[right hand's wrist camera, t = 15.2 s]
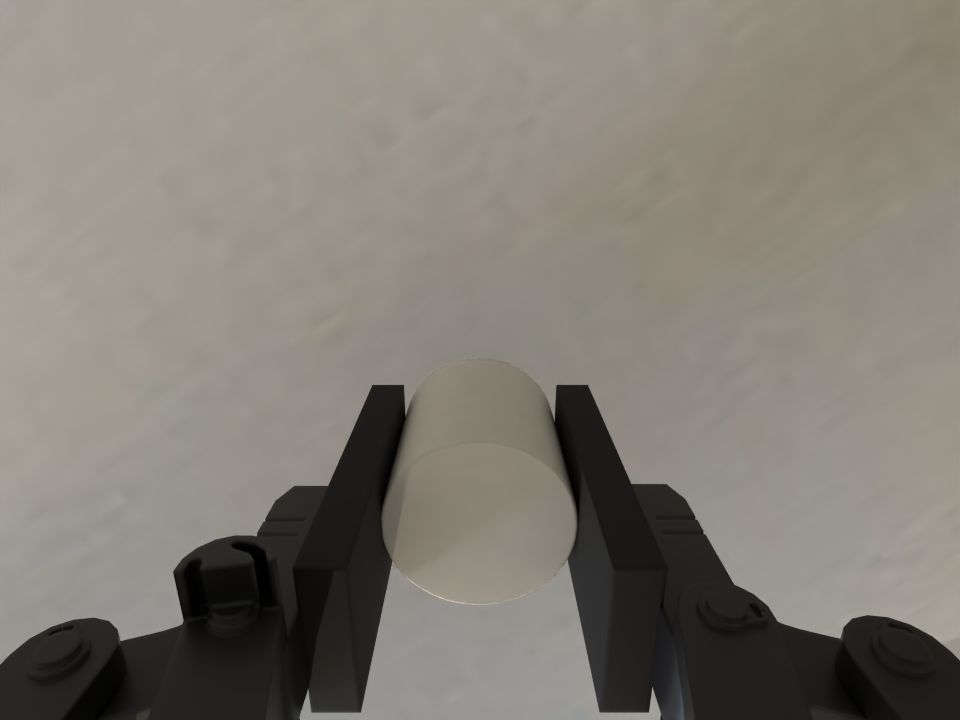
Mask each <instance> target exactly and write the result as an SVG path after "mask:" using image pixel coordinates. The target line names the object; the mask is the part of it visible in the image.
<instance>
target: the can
mask: <svg viewBox="0 0 960 720" xmlns="http://www.w3.org/2000/svg"><path fill="white" fill-rule="evenodd" d="M381 522H382V535H383V541H384V544H385V547H386V549H387V551H388V553H389V556H390V558H391V559H392V561H393V562H394V564H395V565H396V567H397V568H398V569H399V570H400V571H401V573H402V574H403V575H404V576H405V577H406V578H407V579H409V580H410V581H411V582H412V583H413V584H415V585H416V586H418V587H419V588H421V589H422V590H424V591H426V592H428V593H430V594H431V595H434V596H436V597H439V598H441V599H444V600H448V601H451V602H455V603H461V604H469V605H489V604H497V603H503V602H507V601H511V600H515V599H517V598H520V597H522V596H525V595H527V594H529V593H531V592H533V591H535V590H537V589H538V588H539V587H541V586H542V585H544V584H545V583H547V582H548V581H549V580H550V579H551V578H552V577H553V576H555V574H556V573H557V572H558V571H559V570H560V569H561V568H562V566H563V565H564V563H565V562H566V560H567V559H568V557H569V555H570V553H571V550H572V548H573V546H574V542H575V539H576V535H577V529H578V513H577V507H576V502H575V498H574V495H573V491H572V487H571V483H570V479H569V476H568V472H567V468H566V464H565V460H564V457H563V453H562V449H561V445H560V441H559V438H558V434H557V430H556V426H555V422H554V419H553V415H552V411H551V408H550V405H549V402H548V400H547V398H546V396H545V394H544V392H543V391H542V389H541V388H540V386H539V385H538V384H537V383H536V382H535V381H534V380H533V379H532V378H531V377H530V376H529V375H527V374H526V373H525V372H523V371H521V370H520V369H518V368H516V367H514V366H512V365H510V364H507V363H504V362H501V361H497V360H492V359H480V358H478V359H467V360H462V361H458V362H454V363H451V364H449V365H447V366H444V367H442V368H440V369H439V370H437V371H436V372H434V373H433V374H431V375H430V376H429V377H428V378H427V379H425V381H424V382H423V383H422V384H421V385H420V386H419V387H418V389H417V390H416V392H415V393H414V395H413V397H412V399H411V401H410V404H409V407H408V410H407V414H406V418H405V421H404V425H403V429H402V433H401V436H400V440H399V444H398V448H397V451H396V455H395V459H394V463H393V467H392V470H391V474H390V478H389V482H388V485H387V489H386V493H385V497H384V501H383V504H382V511H381Z"/></svg>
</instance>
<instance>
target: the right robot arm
mask: <svg viewBox="0 0 960 720" xmlns="http://www.w3.org/2000/svg"><path fill="white" fill-rule="evenodd" d="M404 421H405V398H404V385H372V387H371V390H370V392H369V394H368V397H367V399H366V401H365V403H364V406H363V408H362V410H361V413H360V415H359V417H358V419H357V422H356V424H355V426H354V429H353V431H352V433H351V435H350V438H349V440H348V442H347V444H346V447H345V449H344V451H343V454H342V456H341V458H340V460H339V463H338V465H337V467H336V470H335V472H334V474H333V476H332V479H331V481H330V483H329V486H294V487H293V488H291V489H290V490H289V491H287V492H286V493H285V494H284V495H282V496H281V497H280V498H279V499H277V500H276V501H275V503H274V504H273V506H272V508H271V510H270V511H269V513H268V515H267V517H266V521H265V522H263V524H262V526H261V527H260V529H259V531H258V533H257V537H255V536H231V537H226V538H221V539H217V540H214V541H212V542H209V543H207V544H205V545H203V546H200V547H198V548H196V549H195V550H194V551H192V552H191V553H190V554H188V555H187V556H186V557H184V558H183V559H182V560H181V561H180V563H179V564H178V566H177V567H176V568H175V570H174V571H173V574H174V578H175V583H176V587H177V592H178V596H179V601H180V605H181V610H182V615H183V619H184V621H183V624H182V625H180V626H178V627H175V628H171V629H168V630H165V631H162V632H157V633H153V634H149V635H145V636H141V637H137V638H132V639H128V640H124V641H120V637H119V633H118V630H117V629H116V628H115V627H114V626H113V625H112V624H111V623H110V622H109V621H106V620H101V619H97V618H86V619H76V620H71V621H68V622H65V623H62V624H59V625H56V626H53V627H50V628H49V629H47V630H45V631H43V632H41V633H39V634H38V635H36V636H34V637H32V638H30V639H29V640H27V641H26V642H25V643H24V644H22V645H21V646H20V647H19V648H18V649H16V650H15V651H14V652H13V653H11V654H10V655H9V656H8V657H7V658H6V659H5V660H4V661H3V662H2V663H1V664H0V720H300V719H299V716H300V713H301V710H302V707H303V703H304V700H305V697H306V694H307V691H308V689H309V697H310V704H311V711H312V712H361V709H362V704H363V699H364V694H365V690H366V685H367V680H368V675H369V670H370V666H371V661H372V656H373V651H374V646H375V642H376V637H377V632H378V627H379V622H380V618H381V613H382V608H383V603H384V598H385V594H386V589H387V584H388V579H389V574H390V569H391V565H392V559H391V558H390V556H389V553H388V551H387V549H386V547H385V544H384V541H383V535H382V522H381V511H382V504H383V501H384V497H385V493H386V489H387V485H388V482H389V478H390V474H391V470H392V467H393V463H394V459H395V455H396V451H397V448H398V444H399V440H400V436H401V433H402V429H403V425H404ZM555 426H556V430H557V434H558V438H559V441H560V445H561V449H562V453H563V457H564V460H565V464H566V468H567V472H568V476H569V479H570V483H571V487H572V491H573V495H574V498H575V502H576V507H577V513H578V529H577V535H576V539H575V542H574V546H573V548H572V550H571V553H570V555H569V557H568V563H569V568H570V572H571V577H572V582H573V587H574V592H575V596H576V601H577V606H578V611H579V616H580V620H581V625H582V630H583V635H584V640H585V644H586V649H587V654H588V659H589V664H590V668H591V673H592V678H593V683H594V688H595V692H596V697H597V702H598V707H599V712H649V707H650V700H651V692H652V686H653V690H654V693H655V696H656V699H657V702H658V705H659V709H660V712H661V719H660V720H960V660H959V659H958V658H957V657H956V656H955V655H954V654H953V653H952V652H951V651H950V650H948V649H947V648H946V647H945V646H943V645H942V644H941V643H940V642H938V641H937V640H936V639H935V638H933V637H932V636H930V635H929V634H927V633H925V632H923V631H921V630H919V629H917V628H915V627H914V626H912V625H910V624H907V623H904V622H900V621H897V620H894V619H891V618H888V617H879V616H869V615H867V616H862V617H858V618H853V619H852V620H851V621H850V622H849V623H848V624H847V625H846V626H845V627H844V628H843V632H842V635H841V639H838V638H834V637H830V636H826V635H822V634H817V633H813V632H809V631H805V630H801V629H797V628H794V627H791V626H787V625H784V624H782V623H779V622H777V620H776V618H775V617H774V615H773V614H772V612H771V610H770V609H769V607H768V606H767V605H766V604H765V603H763V602H762V601H761V600H760V599H759V598H758V597H756V596H755V595H754V594H752V593H750V592H748V591H746V590H744V589H742V588H740V587H738V586H736V585H734V584H733V582H732V580H731V578H730V577H729V575H728V573H727V571H726V570H725V568H724V566H723V564H722V563H721V561H720V559H719V557H718V556H717V554H716V552H715V550H714V549H713V547H712V545H711V543H710V542H709V540H708V538H707V536H706V535H704V534H703V529H702V528H701V526H700V524H699V522H698V521H697V520H695V515H694V514H693V512H692V510H691V508H690V507H689V505H688V503H687V501H686V500H685V499H684V498H683V497H682V496H681V495H679V494H678V493H677V492H676V491H674V490H673V489H672V488H670V487H669V486H668V485H667V484H631V482H630V480H629V478H628V475H627V473H626V471H625V469H624V466H623V464H622V462H621V459H620V457H619V455H618V453H617V450H616V448H615V446H614V444H613V441H612V439H611V437H610V434H609V432H608V430H607V428H606V425H605V423H604V421H603V418H602V416H601V414H600V412H599V409H598V407H597V405H596V403H595V400H594V398H593V396H592V393H591V391H590V389H589V387H588V385H556V406H555Z"/></svg>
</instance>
